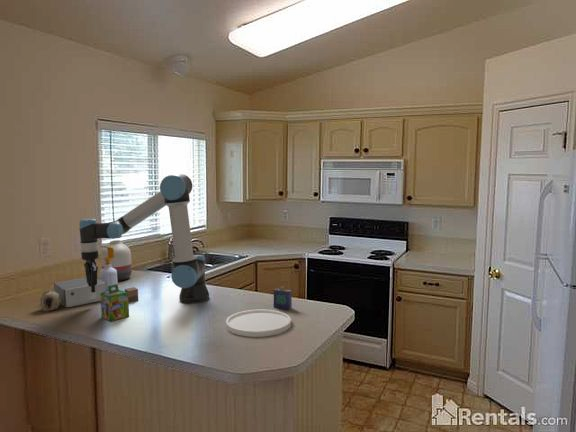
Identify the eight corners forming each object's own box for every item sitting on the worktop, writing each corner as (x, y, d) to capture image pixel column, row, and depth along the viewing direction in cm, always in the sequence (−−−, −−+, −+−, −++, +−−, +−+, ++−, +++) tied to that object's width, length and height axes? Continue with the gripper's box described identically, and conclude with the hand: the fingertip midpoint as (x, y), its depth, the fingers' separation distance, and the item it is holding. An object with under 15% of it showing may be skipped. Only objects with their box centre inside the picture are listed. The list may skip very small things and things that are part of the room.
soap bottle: (96, 290, 245) (94, 247, 242) (109, 286, 253) (106, 244, 251) (109, 292, 242) (106, 248, 239) (121, 287, 250) (119, 245, 247)
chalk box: (111, 322, 194) (109, 289, 192) (100, 317, 200) (98, 285, 198) (130, 316, 201) (128, 285, 199) (119, 312, 207) (118, 281, 205)
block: (138, 300, 226) (137, 289, 225) (128, 302, 222) (128, 290, 222) (134, 298, 229) (134, 287, 229) (125, 300, 226) (124, 288, 225)
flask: (292, 308, 211) (292, 286, 210) (290, 310, 208) (289, 288, 207) (274, 306, 214) (274, 284, 213) (272, 308, 212) (272, 286, 210)
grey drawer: (106, 299, 226) (105, 283, 225) (67, 307, 214) (65, 290, 213) (94, 292, 240) (93, 276, 239) (57, 299, 228) (55, 282, 227)
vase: (107, 276, 278) (105, 239, 275) (135, 275, 280) (133, 238, 277) (98, 283, 261) (96, 243, 259) (128, 282, 263) (126, 243, 260)
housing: (106, 299, 228) (105, 282, 227) (64, 307, 215) (63, 289, 214) (95, 292, 242) (94, 276, 241) (55, 299, 229) (53, 282, 228)
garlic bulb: (42, 314, 213) (34, 295, 212) (60, 307, 218) (53, 288, 218) (47, 312, 206) (39, 292, 206) (65, 305, 212) (58, 286, 212)
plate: (266, 342, 170) (266, 336, 170) (212, 329, 185) (212, 323, 185) (302, 321, 194) (302, 315, 194) (251, 310, 209) (251, 305, 208)
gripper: (102, 251, 210) (105, 299, 212) (93, 248, 220) (96, 294, 222) (85, 253, 205) (89, 302, 207) (77, 250, 215) (80, 297, 217)
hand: (93, 298), depth 215 cm, fingers closed
